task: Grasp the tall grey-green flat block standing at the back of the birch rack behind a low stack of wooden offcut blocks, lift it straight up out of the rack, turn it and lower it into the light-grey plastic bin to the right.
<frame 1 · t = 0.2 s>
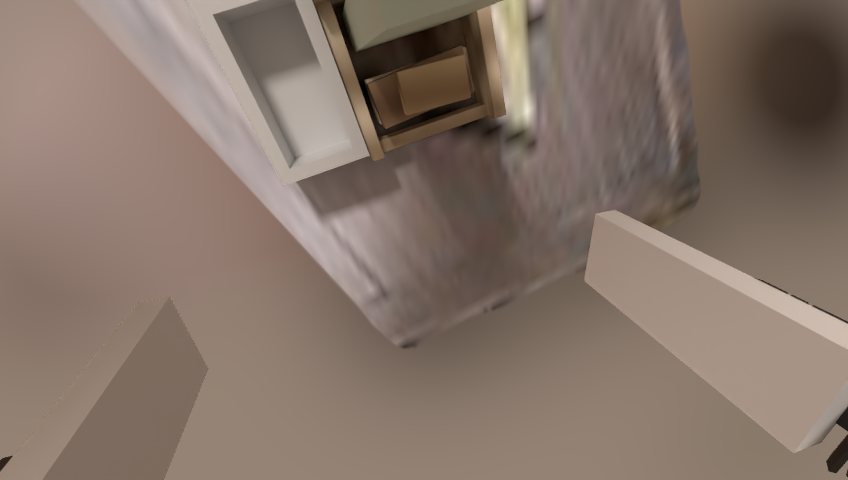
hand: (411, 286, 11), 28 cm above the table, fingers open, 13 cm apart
offcut oak: (431, 84, 31), point 4 cm above the table, touching offcut walnut
offcut birch: (416, 85, 34), on the table, touching offcut walnut
bin: (295, 86, 31), on the table
grey-green flat block: (399, 18, 31), on the table
offcut walnut: (417, 87, 32), point 2 cm above the table, touching offcut birch, offcut oak
rack: (411, 60, 33), on the table
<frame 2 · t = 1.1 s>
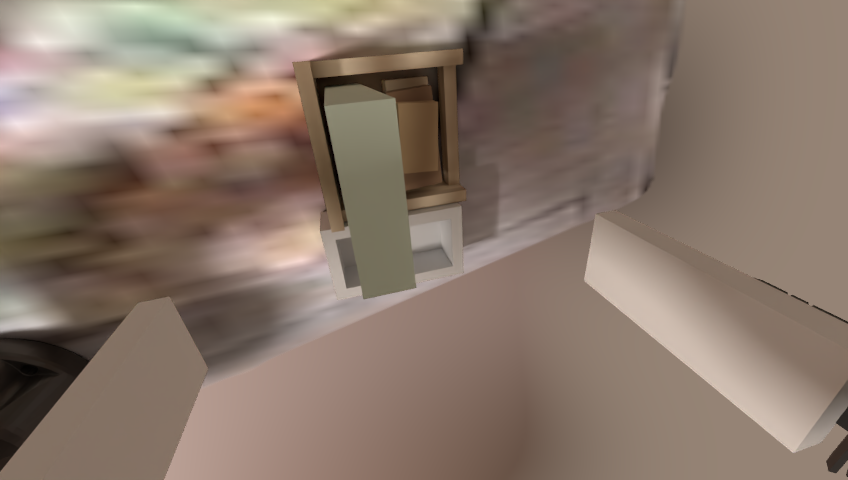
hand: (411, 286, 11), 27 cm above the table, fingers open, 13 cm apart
offcut oak: (415, 136, 31), point 4 cm above the table, touching offcut walnut
offcut birch: (406, 130, 35), on the table, touching offcut walnut
bin: (390, 233, 40), on the table
grey-green flat block: (350, 139, 34), on the table
offcut walnut: (412, 137, 33), point 2 cm above the table, touching offcut birch, offcut oak
rack: (386, 134, 35), on the table
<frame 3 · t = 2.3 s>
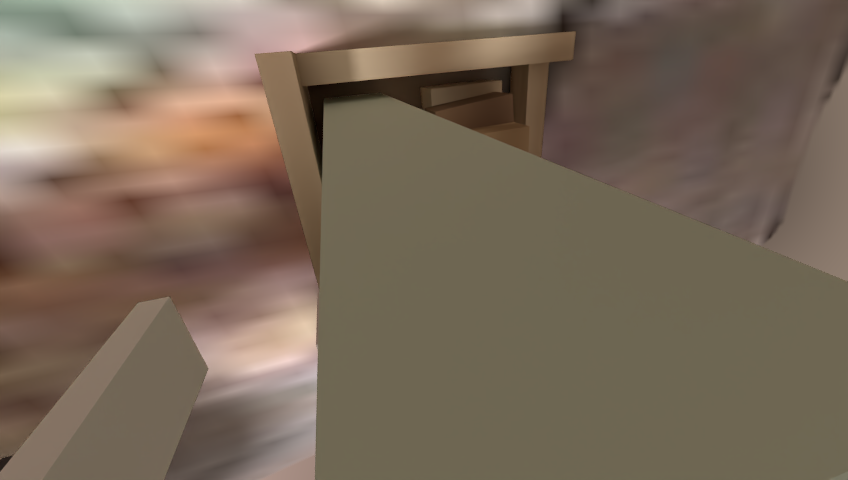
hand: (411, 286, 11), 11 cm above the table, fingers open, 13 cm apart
offcut oak: (483, 184, 18), point 4 cm above the table, touching offcut walnut
offcut birch: (456, 166, 22), on the table, touching offcut walnut
grey-green flat block: (366, 183, 21), on the table
offcut walnut: (469, 179, 20), point 2 cm above the table, touching offcut birch, offcut oak
rack: (423, 174, 21), on the table
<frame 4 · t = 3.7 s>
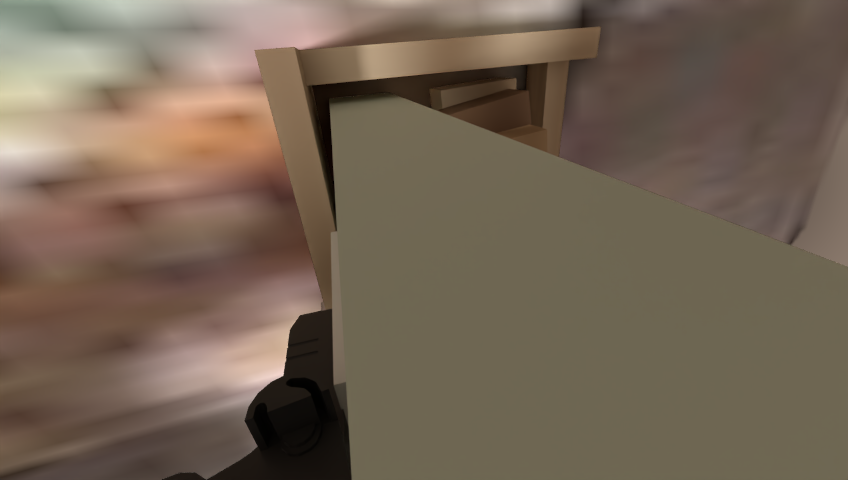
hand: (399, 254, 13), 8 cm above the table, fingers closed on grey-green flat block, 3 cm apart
offcut oak: (500, 192, 17), point 4 cm above the table, touching offcut walnut
offcut birch: (467, 169, 21), on the table, touching offcut walnut
grey-green flat block: (373, 188, 20), on the table, touching gripper
offcut walnut: (485, 182, 19), point 2 cm above the table, touching offcut birch, offcut oak
rack: (433, 179, 20), on the table
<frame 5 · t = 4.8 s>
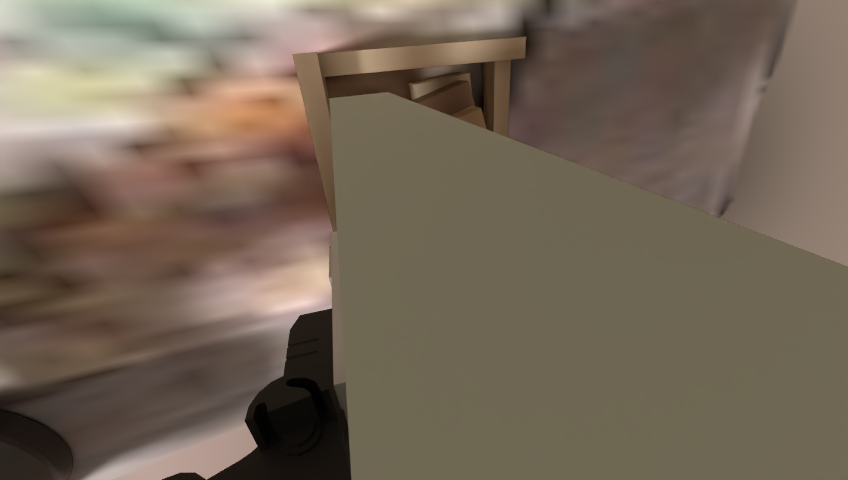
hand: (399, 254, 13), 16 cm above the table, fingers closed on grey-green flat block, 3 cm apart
offcut oak: (461, 157, 24), point 4 cm above the table, touching offcut walnut
offcut birch: (442, 144, 28), on the table, touching offcut walnut
grey-green flat block: (373, 188, 20), point 8 cm above the table, touching gripper
offcut walnut: (451, 151, 26), point 2 cm above the table, touching offcut birch, offcut oak
rack: (414, 149, 27), on the table
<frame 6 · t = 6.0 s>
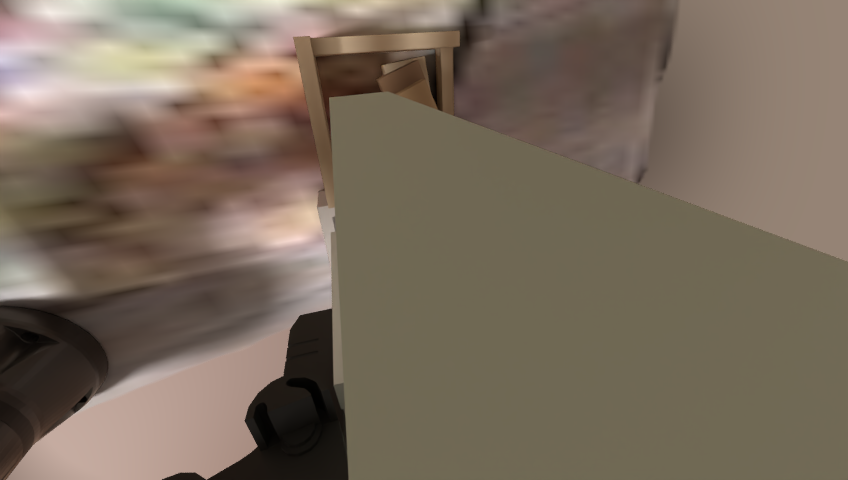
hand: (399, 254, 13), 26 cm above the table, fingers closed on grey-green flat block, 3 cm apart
offcut oak: (418, 118, 32), point 4 cm above the table, touching offcut walnut
offcut birch: (409, 112, 36), on the table, touching offcut walnut
bin: (386, 215, 40), on the table
grey-green flat block: (373, 187, 20), point 18 cm above the table, touching gripper
offcut walnut: (413, 115, 34), point 2 cm above the table, touching offcut birch, offcut oak
rack: (384, 116, 35), on the table
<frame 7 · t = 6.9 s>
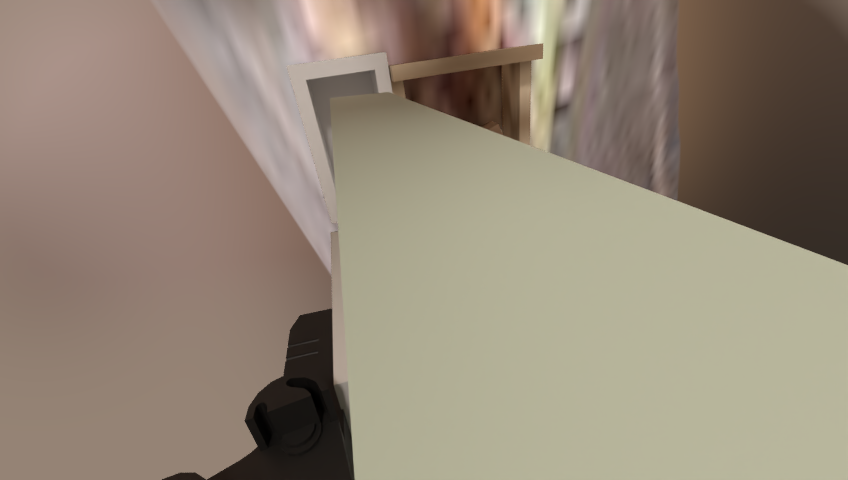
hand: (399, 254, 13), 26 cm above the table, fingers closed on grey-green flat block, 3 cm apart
bin: (352, 136, 36), on the table
grey-green flat block: (373, 188, 20), point 18 cm above the table, touching gripper
rack: (454, 127, 38), on the table
when the fingers open (10 cm above the table, at t = 10.7 s): grey-green flat block drops 1 cm, resting on bin.
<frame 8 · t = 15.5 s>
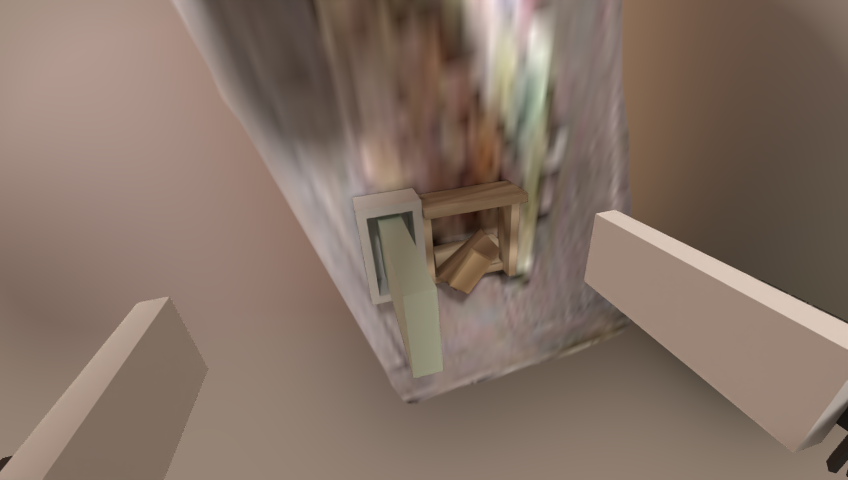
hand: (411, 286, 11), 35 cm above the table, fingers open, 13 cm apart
offcut oak: (467, 268, 50), point 4 cm above the table
offcut birch: (462, 250, 53), on the table, touching offcut walnut
bin: (389, 239, 49), on the table
grey-green flat block: (389, 240, 48), point 1 cm above the table, touching bin
offcut walnut: (465, 256, 51), point 2 cm above the table, touching offcut birch, rack
rack: (462, 231, 51), on the table
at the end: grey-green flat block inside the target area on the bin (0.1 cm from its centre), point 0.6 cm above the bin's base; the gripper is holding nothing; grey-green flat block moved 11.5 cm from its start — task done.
